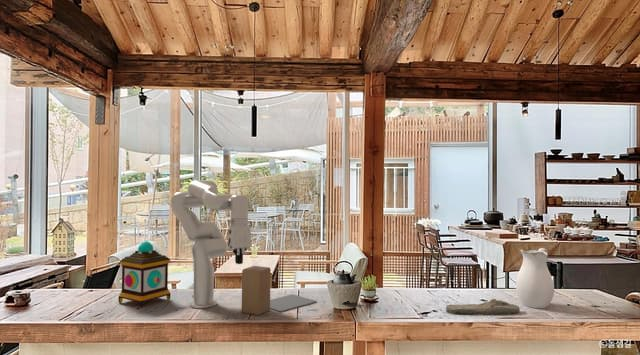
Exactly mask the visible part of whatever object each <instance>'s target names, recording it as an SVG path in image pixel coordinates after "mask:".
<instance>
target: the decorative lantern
mask: <svg viewBox="0 0 640 355" xmlns="http://www.w3.org/2000/svg"><path fill="white" fill-rule="evenodd" d="M170 261H171V258H169V257H168V256H166V255H164V254H161V253H159V252H157V250H156V249H155V250H154V246H153V244H152V243H151V242H149V241H147V240H145V241H143V242H141V243H140V244H139V246H138V248H137V250H135V251H134V252H133V253H132V254H130V255H128V256H125V257H124V258H121V260H120V261H119V263H120V265H121V271H122V272H121V291H120V293H119V295H118V299H117V301H118V304H122V303H123V301H124V300H128V301H133V302H137V303H138V305H139V308H140V309H142V308H143V307H144V303H145V302H148V301H151V300H155V299H156V300H157V299H159V298H162V297H165V298H166V300H167V301H170V299H171V292H170V290H169V289H168V288H169V287H168V284H169V283H168V282H169V280H168V277H169V276H168V275H169V264H170ZM123 299H124V300H123Z"/></svg>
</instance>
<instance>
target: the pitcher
mask: <svg viewBox="0 0 640 355" xmlns="http://www.w3.org/2000/svg"><path fill="white" fill-rule="evenodd" d="M519 251H520V253H521V255H522V263H521V266H520V268H519V271H518V273H517V276H516V278H515V292H516V294H517V295H516V296H517V297H518V299H519V301H520V303H521V304H522V305H523V306H524V305H525V306H524V307H527V306H529V307H528V308H531V307H533V308H532V309H546V308H548V307H549V306H550V304H551V302H552V300H553V298H554V293H555V284H554V280H553V278H552V274H551V272H550V270H549V267H548V264H547V261H548V256H549V255H548V249H546V248H544V247H541V248H540V247H539V249H538V250H534V249H533V250H531V249H530V250H527V251H526V250H523V249H520V250H519Z"/></svg>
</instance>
